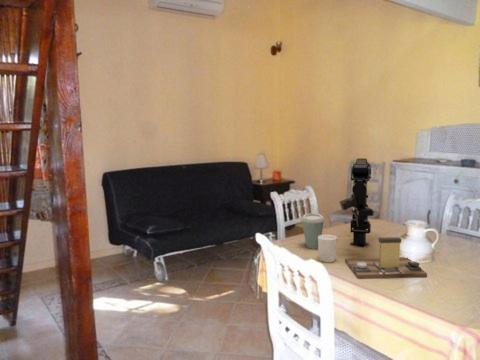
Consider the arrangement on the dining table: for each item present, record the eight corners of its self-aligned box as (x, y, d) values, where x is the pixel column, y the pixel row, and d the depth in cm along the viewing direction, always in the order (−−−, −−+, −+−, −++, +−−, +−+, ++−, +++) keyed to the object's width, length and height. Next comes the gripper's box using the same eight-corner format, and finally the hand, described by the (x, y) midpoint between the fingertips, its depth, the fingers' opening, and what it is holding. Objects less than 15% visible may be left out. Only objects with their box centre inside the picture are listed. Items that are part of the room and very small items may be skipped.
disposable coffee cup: (326, 249, 183) (326, 218, 181) (302, 250, 184) (302, 218, 182) (322, 242, 194) (322, 212, 192) (299, 243, 194) (299, 213, 192)
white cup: (325, 264, 165) (326, 240, 164) (314, 258, 172) (314, 236, 171) (340, 260, 169) (340, 237, 168) (328, 255, 176) (328, 233, 174)
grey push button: (355, 265, 156) (355, 261, 156) (364, 265, 156) (365, 261, 156) (358, 268, 152) (358, 265, 152) (367, 268, 152) (368, 265, 152)
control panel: (345, 261, 167) (345, 256, 167) (406, 260, 168) (407, 254, 167) (358, 279, 149) (358, 272, 149) (427, 277, 149) (427, 271, 149)
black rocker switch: (407, 263, 156) (407, 261, 156) (414, 263, 156) (414, 261, 156) (411, 265, 152) (411, 263, 152) (419, 265, 152) (419, 263, 152)
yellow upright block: (377, 268, 155) (378, 237, 153) (396, 268, 155) (397, 236, 153) (380, 272, 151) (381, 240, 149) (400, 271, 151) (402, 239, 149)
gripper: (336, 189, 183) (335, 222, 185) (347, 196, 164) (346, 233, 167) (360, 188, 183) (359, 221, 185) (374, 196, 164) (373, 232, 167)
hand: (359, 227), depth 176 cm, fingers closed
